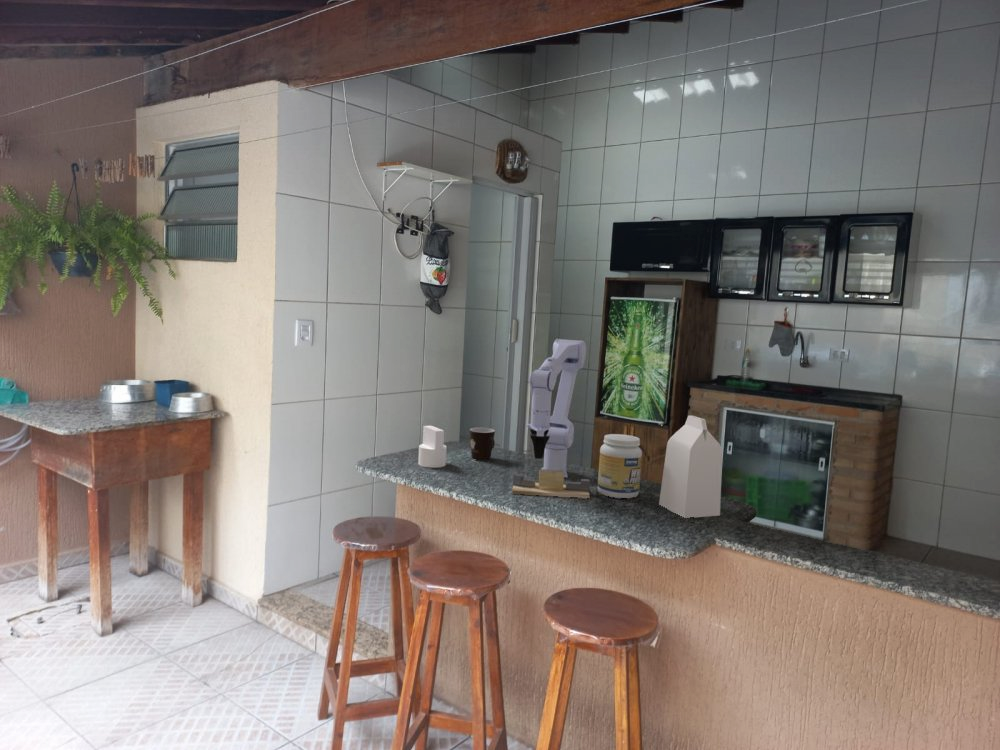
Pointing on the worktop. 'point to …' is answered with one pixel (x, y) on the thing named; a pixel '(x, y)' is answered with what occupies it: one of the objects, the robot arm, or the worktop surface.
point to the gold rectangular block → (551, 479)
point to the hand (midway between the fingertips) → (538, 455)
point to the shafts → (577, 486)
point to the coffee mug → (481, 443)
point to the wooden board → (549, 492)
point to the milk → (692, 471)
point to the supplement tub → (620, 466)
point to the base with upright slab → (432, 448)
